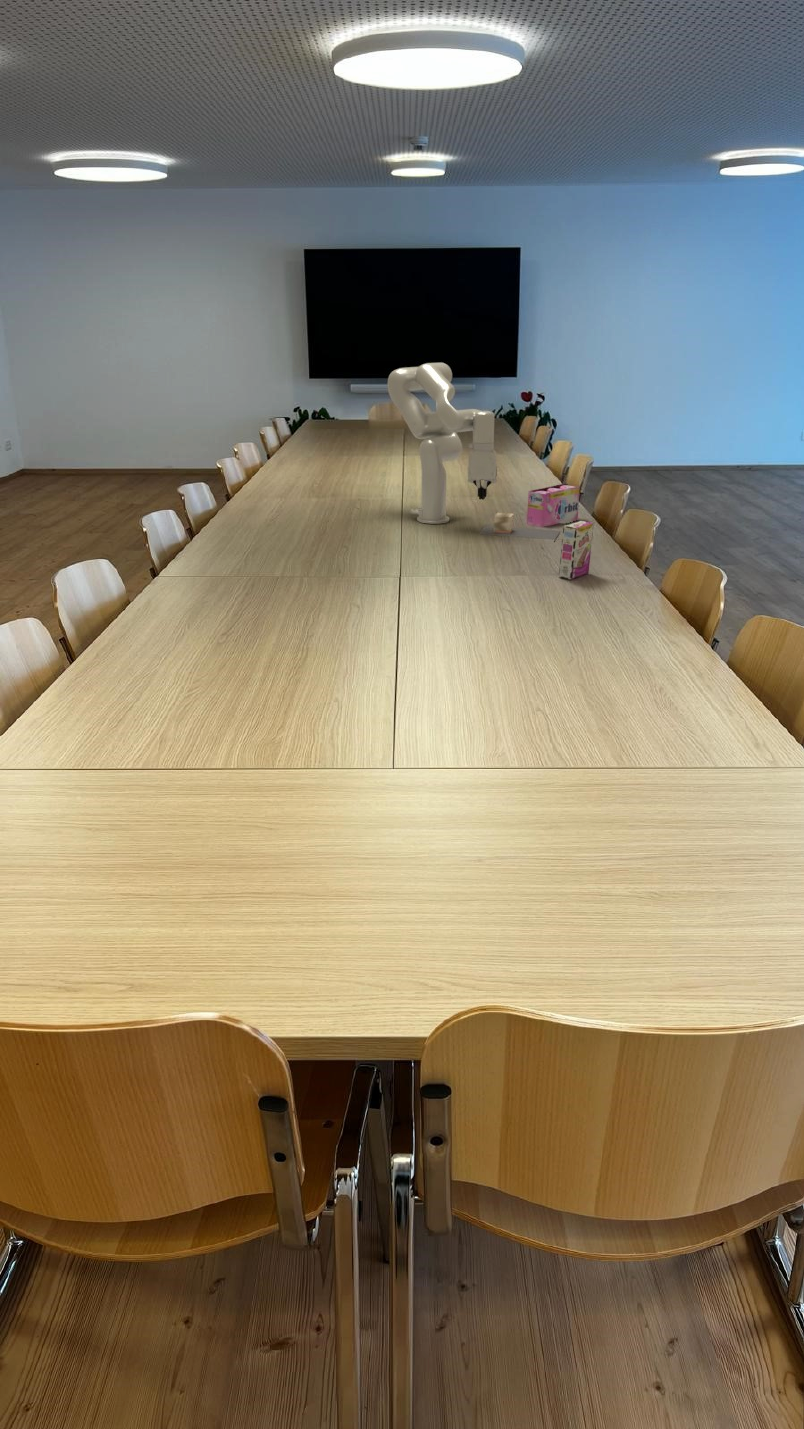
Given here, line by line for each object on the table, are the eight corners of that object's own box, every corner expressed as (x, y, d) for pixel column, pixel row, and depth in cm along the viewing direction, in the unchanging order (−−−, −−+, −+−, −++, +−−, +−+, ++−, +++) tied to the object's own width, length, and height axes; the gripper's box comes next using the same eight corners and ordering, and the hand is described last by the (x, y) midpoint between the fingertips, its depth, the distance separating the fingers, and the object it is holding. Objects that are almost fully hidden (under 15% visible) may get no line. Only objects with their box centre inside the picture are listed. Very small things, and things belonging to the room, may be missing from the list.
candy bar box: (572, 580, 302) (576, 528, 296) (558, 577, 305) (562, 525, 299) (590, 573, 310) (594, 522, 304) (576, 570, 313) (580, 519, 307)
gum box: (563, 517, 386) (566, 482, 381) (580, 520, 381) (583, 485, 375) (525, 526, 371) (527, 490, 365) (542, 530, 366) (544, 493, 360)
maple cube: (493, 532, 357) (494, 516, 354) (496, 528, 362) (497, 512, 360) (509, 533, 355) (510, 517, 353) (512, 530, 361) (513, 513, 358)
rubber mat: (477, 536, 355) (478, 533, 354) (485, 528, 367) (485, 525, 367) (554, 542, 348) (554, 539, 347) (560, 533, 360) (560, 530, 360)
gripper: (460, 448, 347) (459, 499, 354) (501, 449, 344) (500, 501, 351) (465, 445, 354) (464, 496, 361) (505, 446, 350) (504, 498, 357)
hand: (482, 498), depth 356 cm, fingers closed
